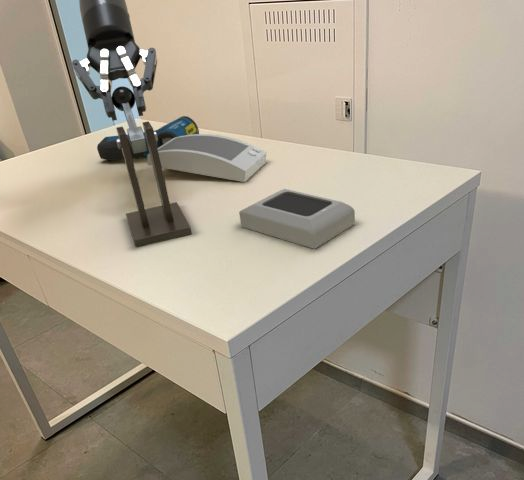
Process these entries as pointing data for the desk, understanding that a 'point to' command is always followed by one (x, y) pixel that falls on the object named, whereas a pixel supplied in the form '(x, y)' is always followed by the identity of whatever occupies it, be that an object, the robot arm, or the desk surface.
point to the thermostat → (211, 156)
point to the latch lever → (129, 118)
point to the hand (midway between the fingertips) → (127, 114)
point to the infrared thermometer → (166, 133)
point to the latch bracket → (168, 214)
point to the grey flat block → (298, 217)
